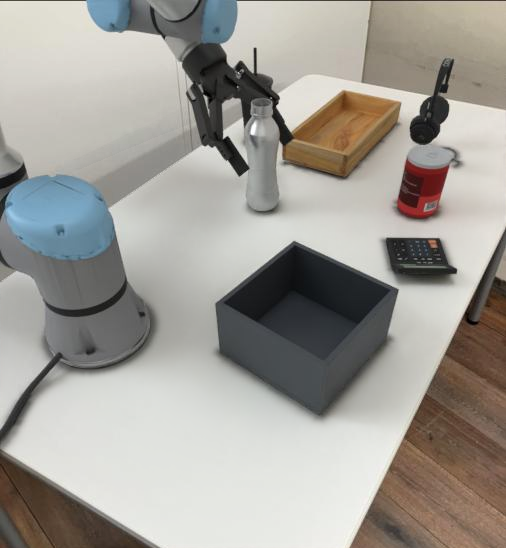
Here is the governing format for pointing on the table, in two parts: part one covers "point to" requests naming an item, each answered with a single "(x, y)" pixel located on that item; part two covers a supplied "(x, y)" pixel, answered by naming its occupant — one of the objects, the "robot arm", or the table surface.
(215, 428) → the table surface
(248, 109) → the drinking cup
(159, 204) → the table surface
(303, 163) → the tray
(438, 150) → the canned food
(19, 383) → the table surface
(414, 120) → the headphones
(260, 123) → the plastic bottle
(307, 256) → the bin
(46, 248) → the robot arm
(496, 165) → the table surface
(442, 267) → the calculator
